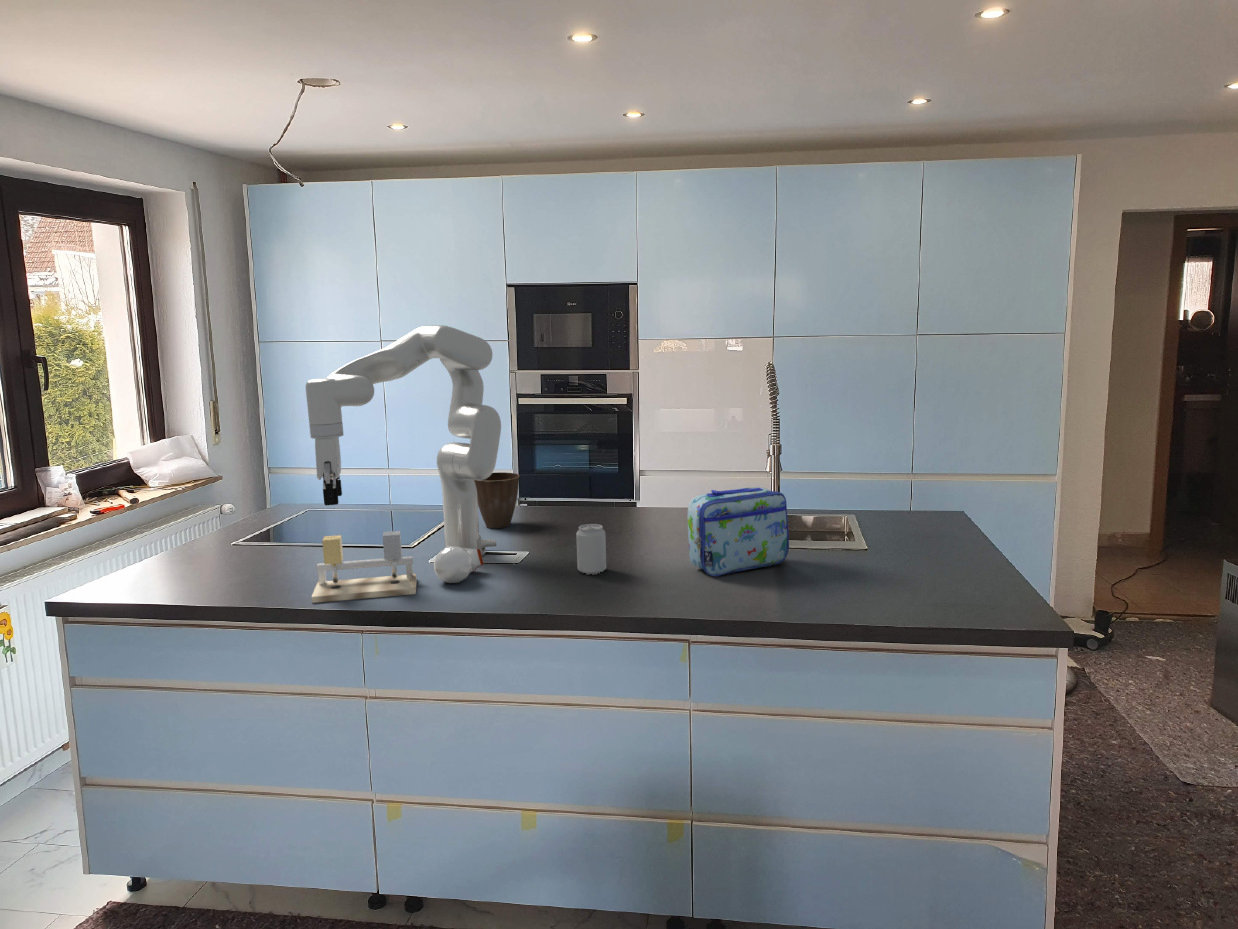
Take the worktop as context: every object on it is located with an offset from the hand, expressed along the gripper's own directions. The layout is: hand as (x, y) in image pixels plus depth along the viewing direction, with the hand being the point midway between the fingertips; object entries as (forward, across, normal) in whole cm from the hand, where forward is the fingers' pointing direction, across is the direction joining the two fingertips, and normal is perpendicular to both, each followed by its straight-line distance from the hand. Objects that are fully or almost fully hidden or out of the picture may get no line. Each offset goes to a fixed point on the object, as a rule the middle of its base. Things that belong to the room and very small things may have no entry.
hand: (333, 500), depth 213 cm
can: (+24, +2, +62) cm, 67 cm away
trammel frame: (+21, +1, +6) cm, 22 cm away
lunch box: (+24, +11, +99) cm, 103 cm away
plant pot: (+24, -55, +43) cm, 74 cm away
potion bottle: (+24, -1, +28) cm, 37 cm away
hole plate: (+23, +2, +6) cm, 24 cm away
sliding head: (+20, +1, -1) cm, 20 cm away
